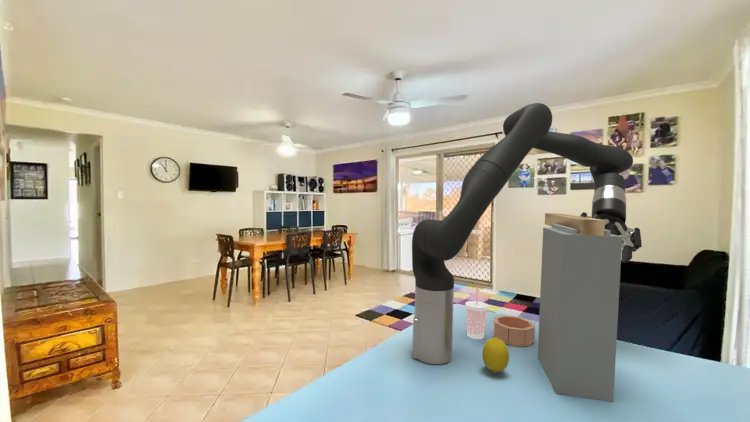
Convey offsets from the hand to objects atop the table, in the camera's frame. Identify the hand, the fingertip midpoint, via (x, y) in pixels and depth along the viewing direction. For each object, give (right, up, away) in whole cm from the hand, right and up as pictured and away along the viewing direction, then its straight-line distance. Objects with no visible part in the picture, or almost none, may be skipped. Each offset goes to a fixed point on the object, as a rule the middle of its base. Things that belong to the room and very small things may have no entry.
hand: (606, 254), depth 81 cm
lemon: (-31, -25, -8) cm, 40 cm away
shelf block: (-14, -25, -9) cm, 31 cm away
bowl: (-19, -25, +10) cm, 33 cm away
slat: (-12, +7, -5) cm, 15 cm away
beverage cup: (-29, -24, +11) cm, 40 cm away
